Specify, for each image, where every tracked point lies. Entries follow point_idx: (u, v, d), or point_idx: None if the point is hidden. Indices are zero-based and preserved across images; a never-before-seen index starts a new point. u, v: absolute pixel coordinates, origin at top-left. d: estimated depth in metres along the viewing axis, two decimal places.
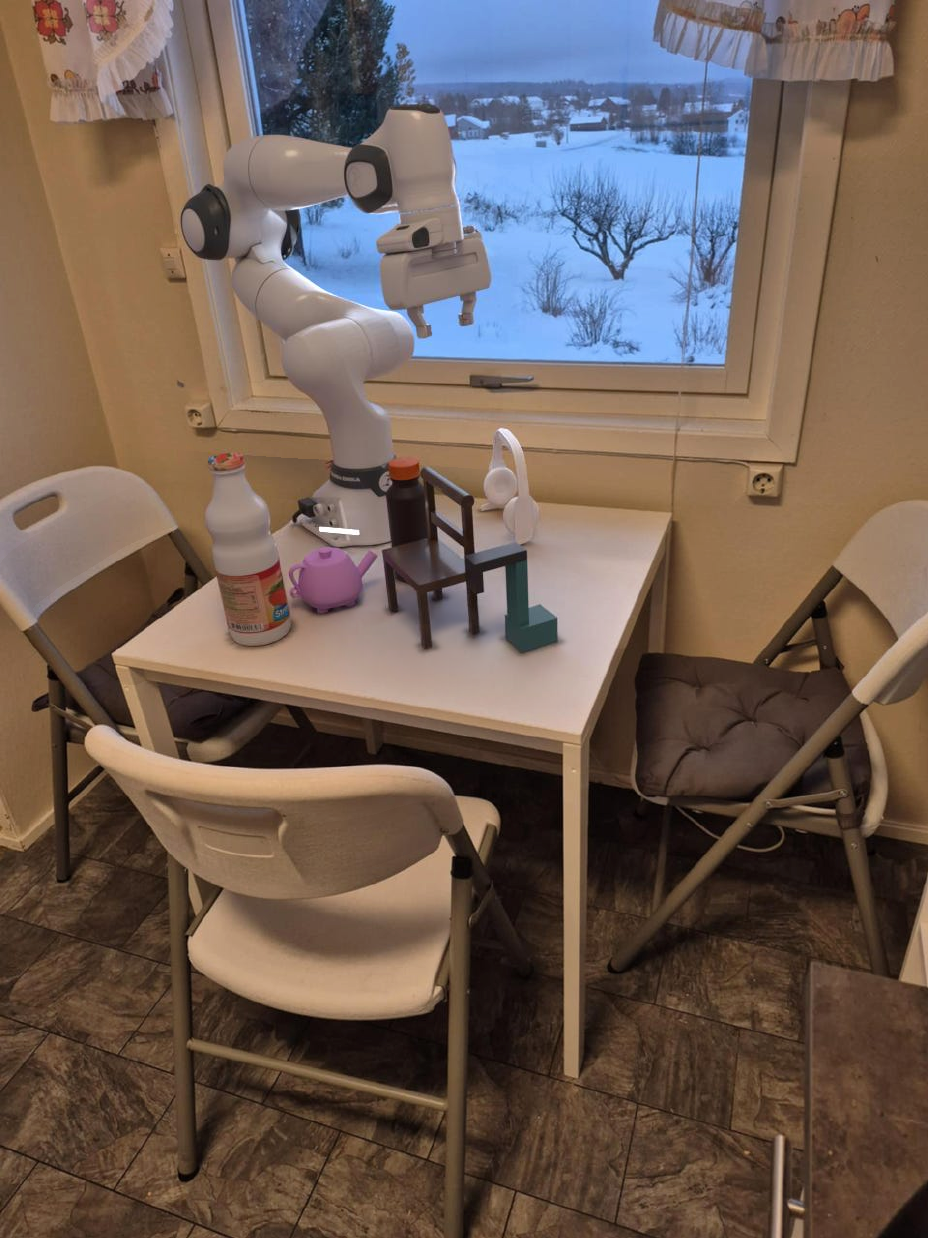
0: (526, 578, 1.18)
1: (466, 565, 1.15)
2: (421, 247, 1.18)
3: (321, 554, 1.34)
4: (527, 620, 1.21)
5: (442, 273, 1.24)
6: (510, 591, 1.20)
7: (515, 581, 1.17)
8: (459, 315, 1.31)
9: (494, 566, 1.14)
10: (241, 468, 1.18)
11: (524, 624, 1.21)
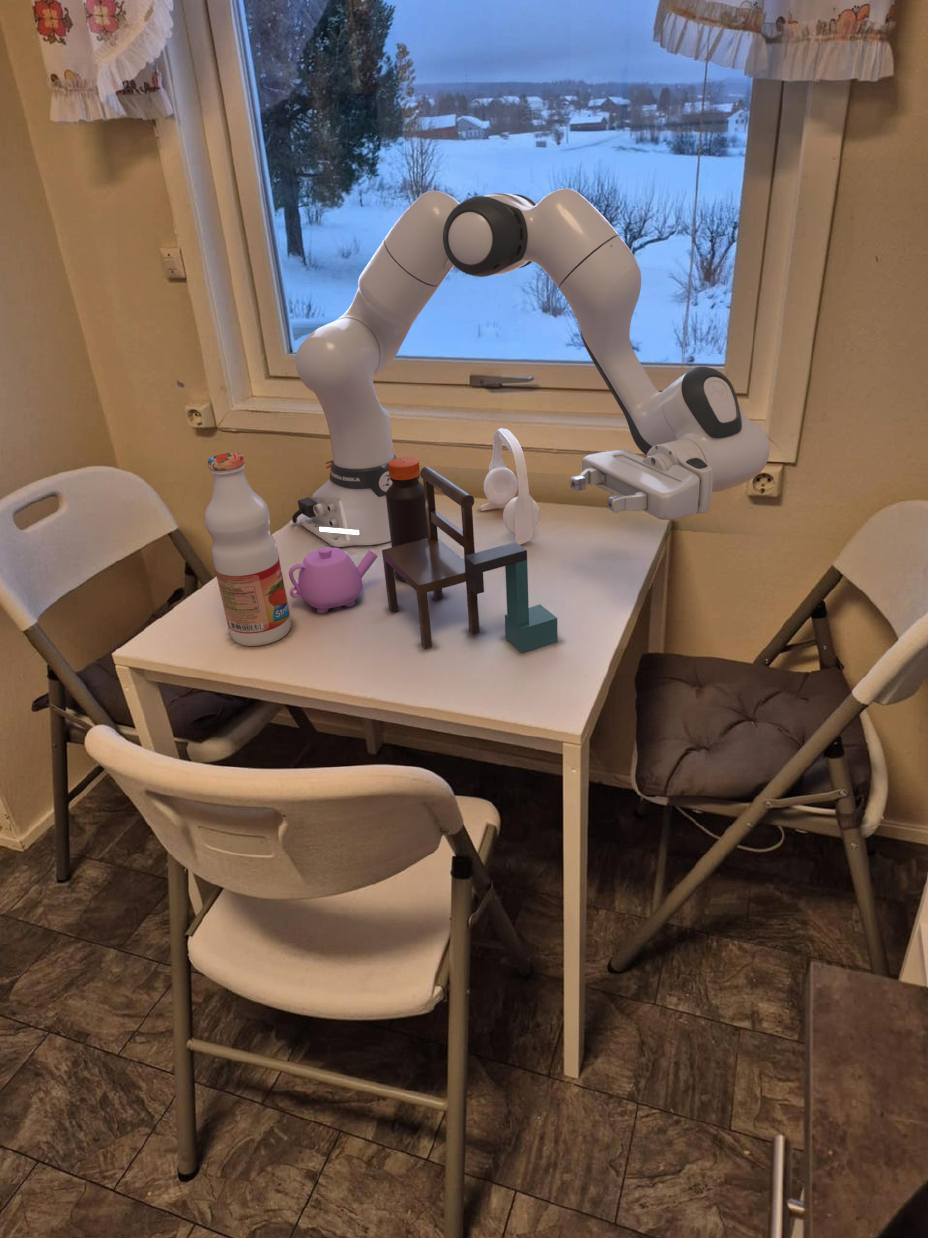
0: (526, 578, 1.18)
1: (466, 565, 1.15)
2: None
3: (321, 554, 1.34)
4: (527, 620, 1.21)
5: None
6: (510, 591, 1.20)
7: (515, 581, 1.17)
8: (584, 479, 1.22)
9: (494, 566, 1.14)
10: (241, 468, 1.18)
11: (524, 624, 1.21)
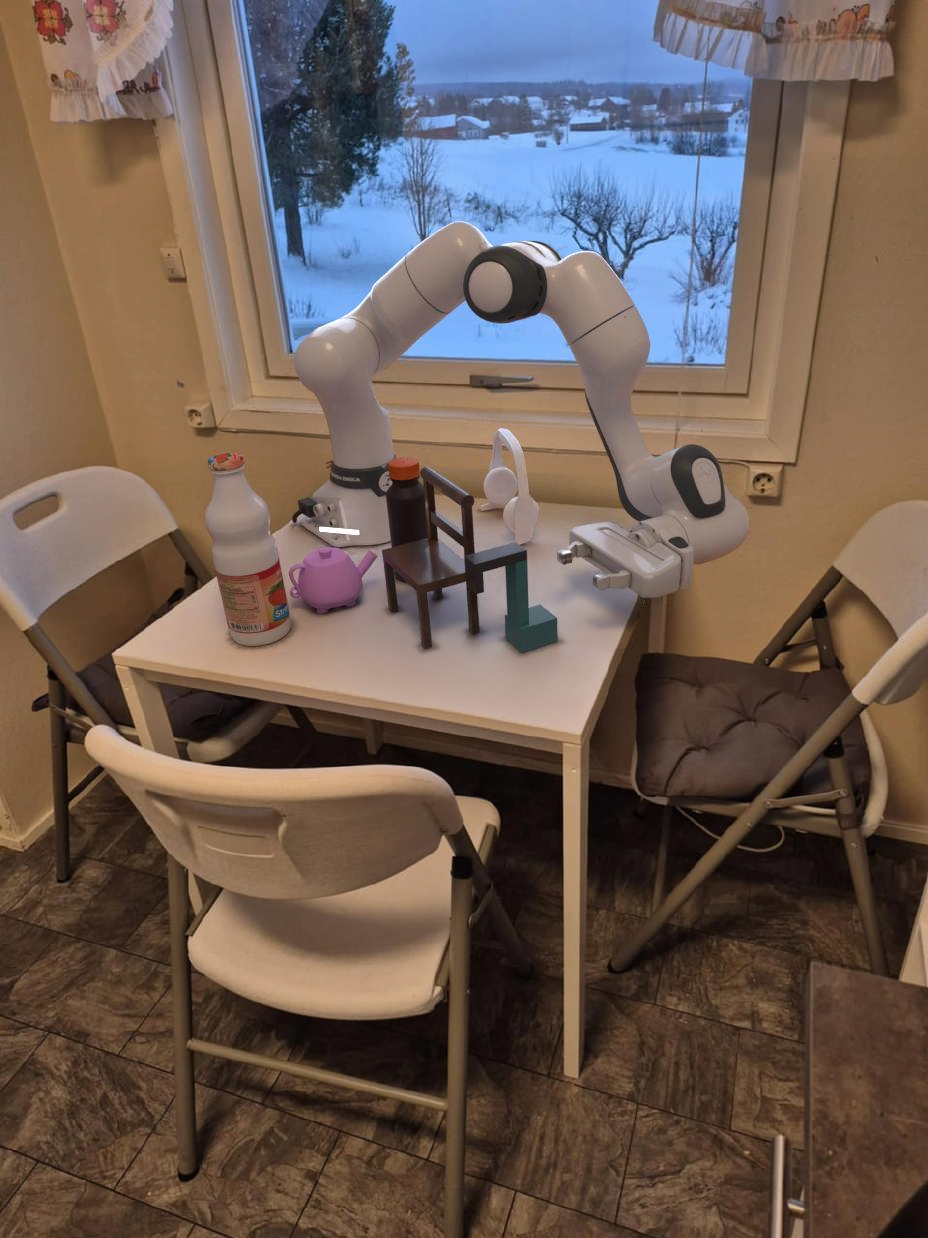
0: (526, 578, 1.18)
1: (466, 565, 1.15)
2: None
3: (321, 554, 1.34)
4: (527, 620, 1.21)
5: None
6: (510, 591, 1.20)
7: (515, 581, 1.17)
8: (571, 554, 1.27)
9: (494, 566, 1.14)
10: (241, 468, 1.18)
11: (524, 624, 1.21)
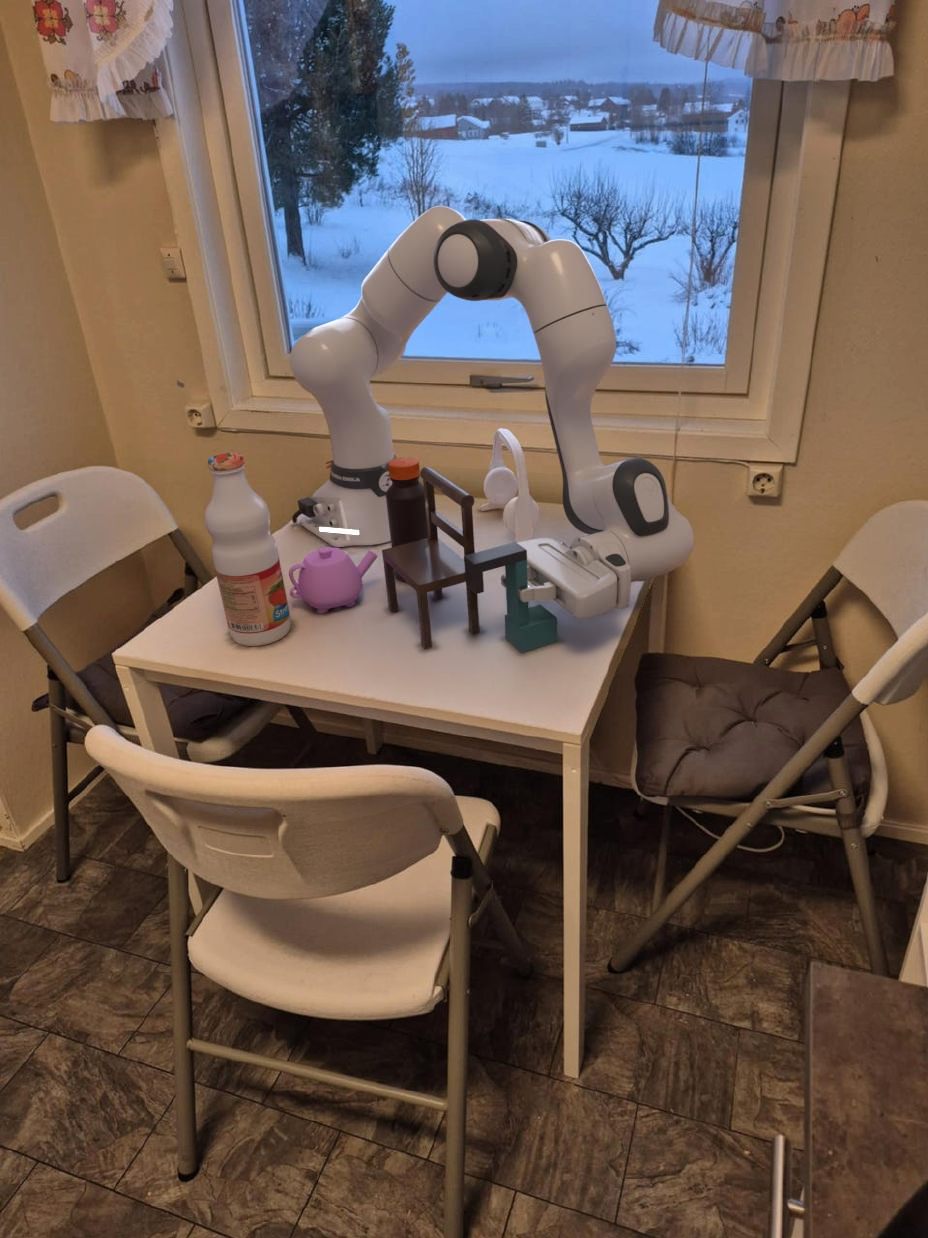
0: (526, 578, 1.18)
1: (466, 565, 1.15)
2: None
3: (321, 554, 1.34)
4: (527, 620, 1.21)
5: None
6: (510, 591, 1.20)
7: (515, 581, 1.17)
8: None
9: (494, 566, 1.14)
10: (241, 468, 1.18)
11: (524, 624, 1.21)
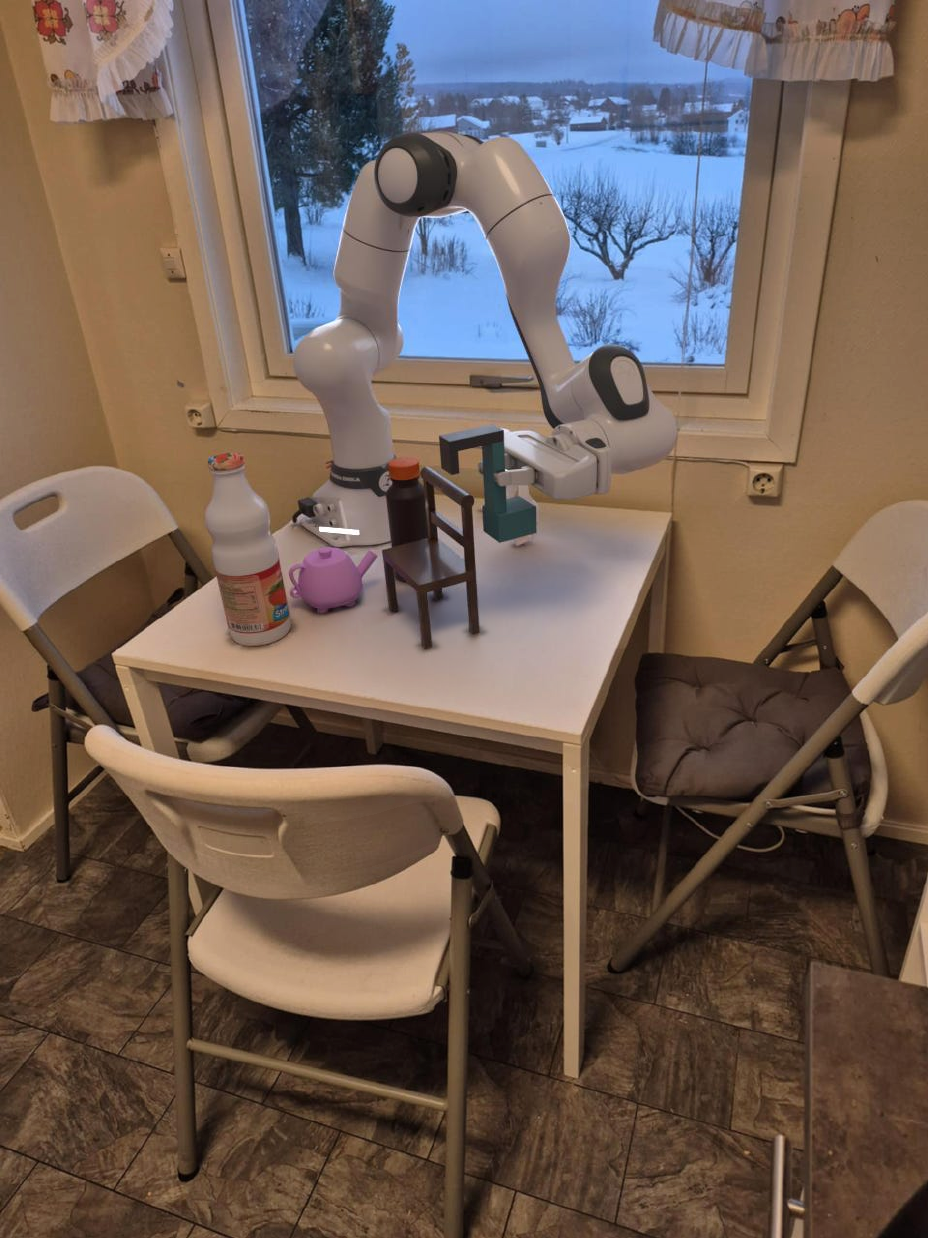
0: (503, 461, 1.14)
1: (441, 445, 1.12)
2: None
3: (321, 554, 1.34)
4: (505, 508, 1.17)
5: None
6: (487, 476, 1.16)
7: (492, 464, 1.14)
8: None
9: (470, 445, 1.11)
10: (241, 468, 1.18)
11: (501, 512, 1.17)
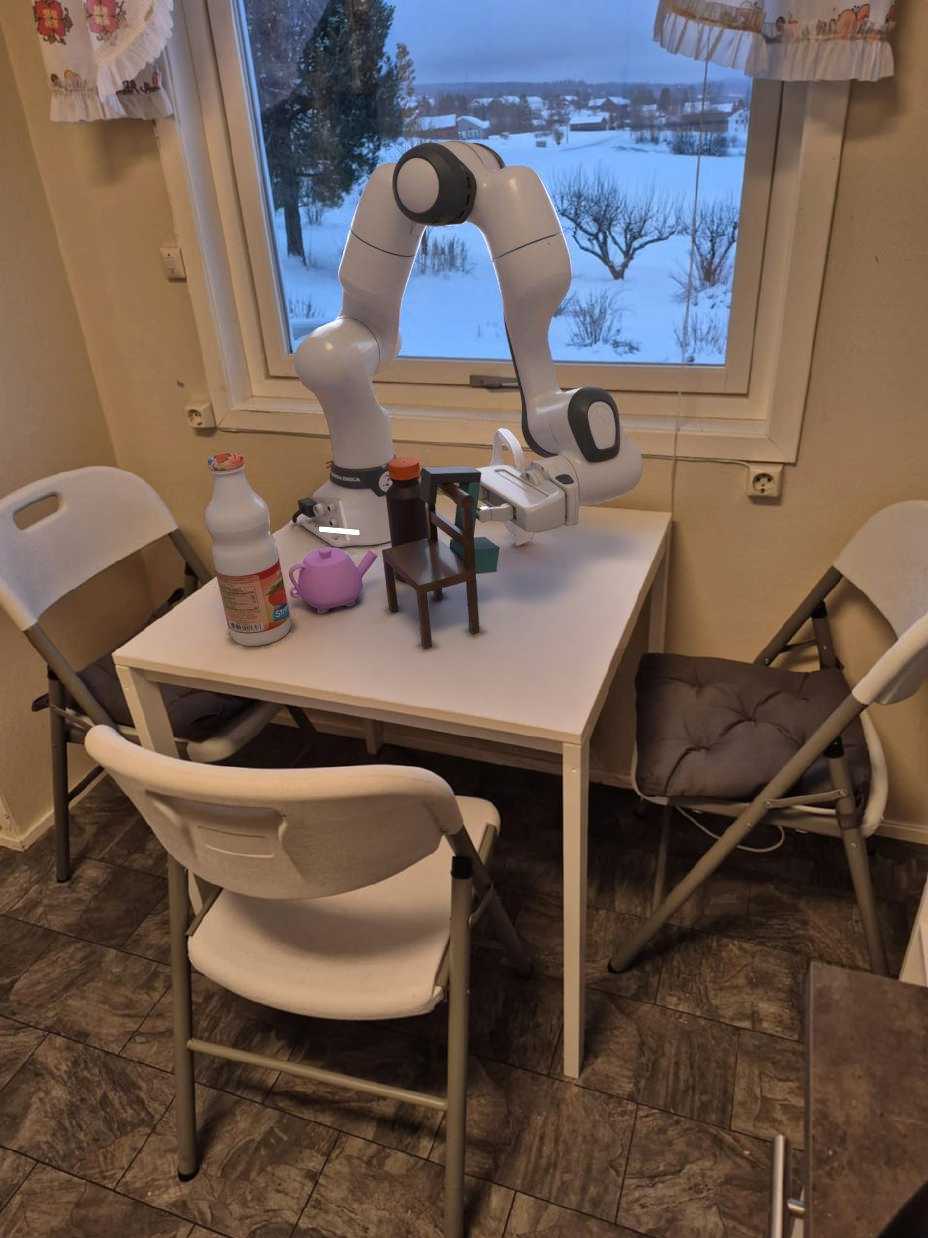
0: (476, 500, 1.24)
1: (422, 476, 1.21)
2: None
3: (321, 554, 1.34)
4: None
5: None
6: (460, 512, 1.26)
7: None
8: None
9: (449, 480, 1.21)
10: (241, 468, 1.18)
11: None
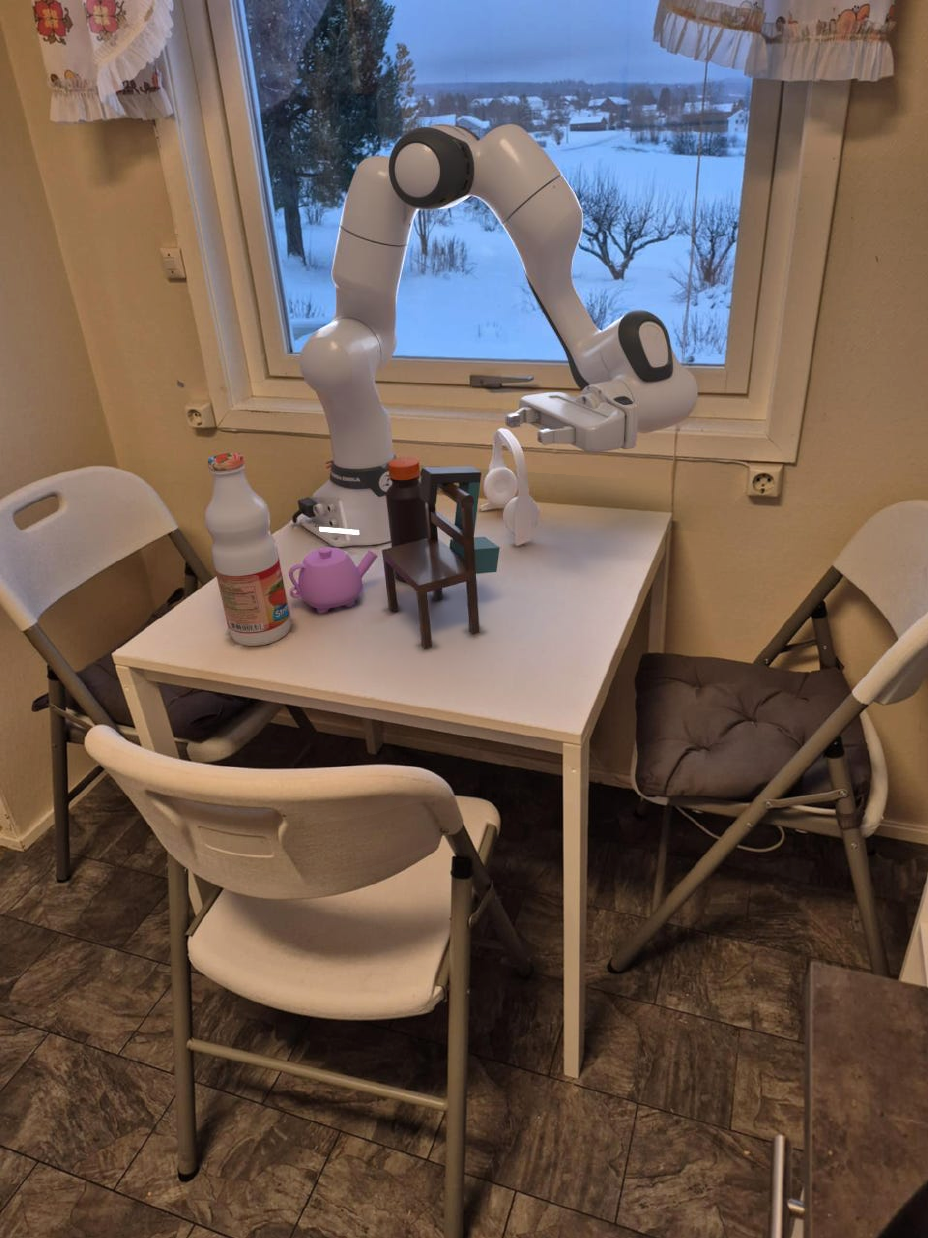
0: (476, 500, 1.24)
1: (422, 476, 1.21)
2: None
3: (321, 554, 1.34)
4: None
5: None
6: (460, 512, 1.26)
7: None
8: (519, 416, 1.28)
9: (449, 480, 1.21)
10: (241, 468, 1.18)
11: None
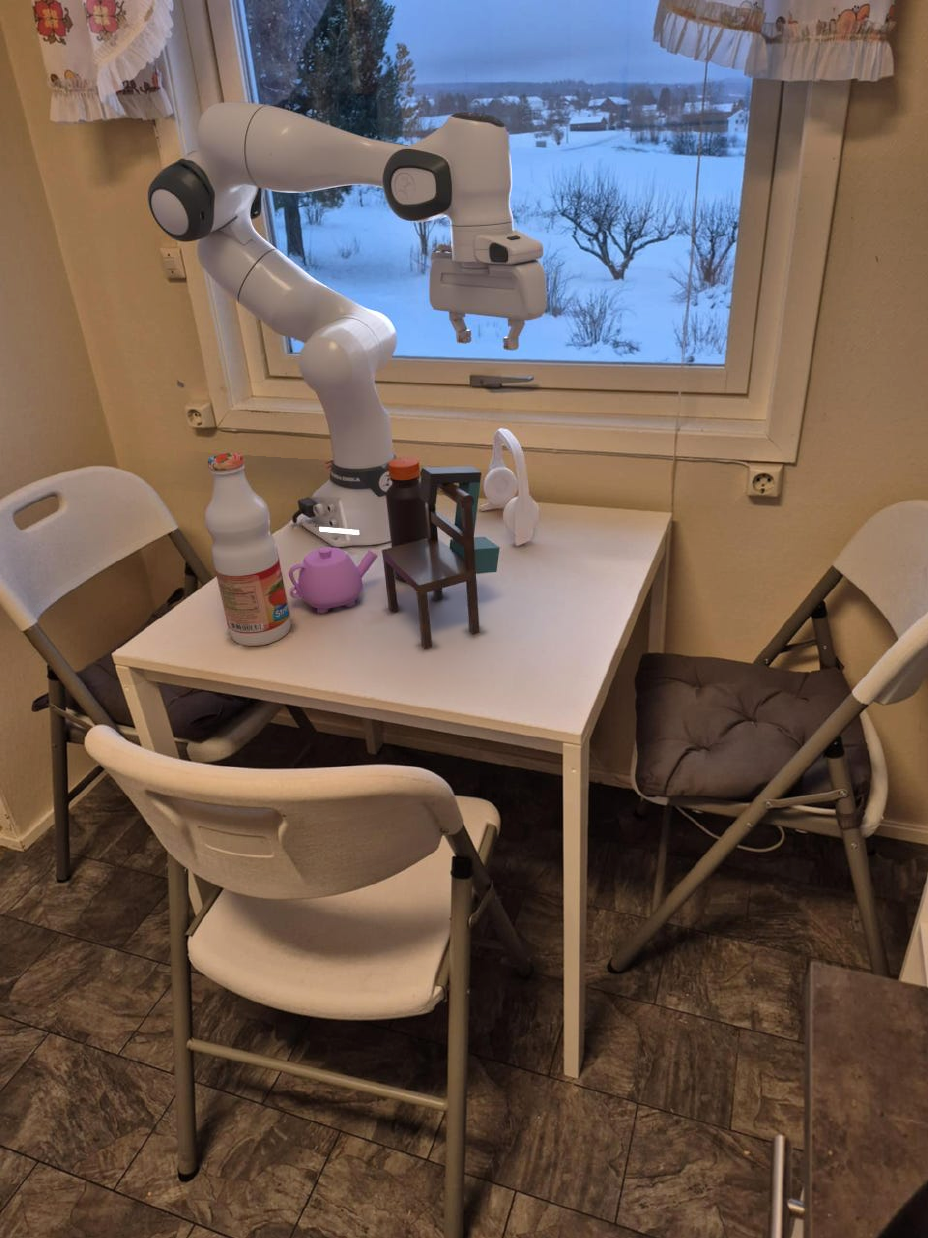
0: (476, 500, 1.24)
1: (422, 476, 1.21)
2: None
3: (321, 554, 1.34)
4: None
5: None
6: (460, 512, 1.26)
7: None
8: (464, 333, 1.29)
9: (449, 480, 1.21)
10: (241, 468, 1.18)
11: None
